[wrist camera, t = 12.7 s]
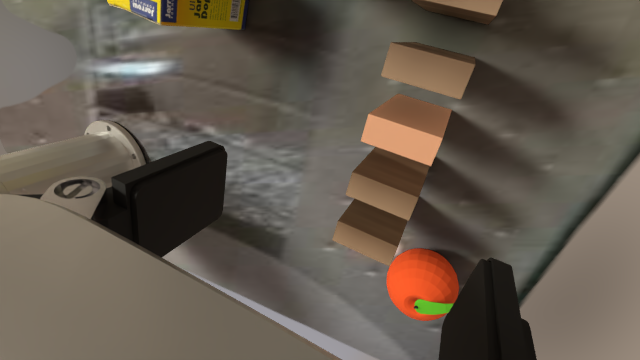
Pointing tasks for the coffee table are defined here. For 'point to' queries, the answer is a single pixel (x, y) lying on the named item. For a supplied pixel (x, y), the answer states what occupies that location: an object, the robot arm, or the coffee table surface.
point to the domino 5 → (370, 231)
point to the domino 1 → (464, 8)
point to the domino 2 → (429, 68)
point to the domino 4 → (388, 182)
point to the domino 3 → (407, 128)
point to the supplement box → (189, 12)
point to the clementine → (422, 284)
